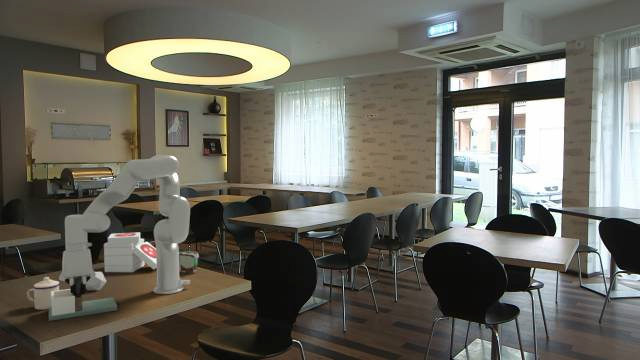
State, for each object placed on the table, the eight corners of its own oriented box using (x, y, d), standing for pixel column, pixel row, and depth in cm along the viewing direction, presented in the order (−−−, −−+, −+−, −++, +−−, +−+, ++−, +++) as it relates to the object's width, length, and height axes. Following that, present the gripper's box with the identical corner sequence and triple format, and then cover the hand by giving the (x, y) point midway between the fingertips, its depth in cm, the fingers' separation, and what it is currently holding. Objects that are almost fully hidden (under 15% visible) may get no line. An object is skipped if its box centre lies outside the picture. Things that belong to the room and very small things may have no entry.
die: (91, 294, 204) (105, 275, 206) (76, 284, 205) (90, 265, 208) (99, 296, 211) (113, 277, 214) (84, 286, 213) (98, 268, 215)
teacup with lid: (64, 302, 191) (63, 274, 190) (53, 309, 182) (52, 280, 181) (34, 303, 190) (33, 275, 190) (21, 310, 181) (20, 281, 180)
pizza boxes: (155, 273, 239) (155, 238, 238) (98, 272, 240) (97, 238, 240) (169, 264, 258) (168, 232, 257) (116, 264, 259) (115, 232, 259)
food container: (204, 271, 241) (204, 252, 241) (195, 274, 236) (195, 254, 236) (187, 268, 248) (187, 250, 247) (178, 271, 243) (178, 252, 242)
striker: (81, 302, 185) (80, 275, 184) (83, 309, 176) (82, 280, 176) (74, 303, 184) (73, 275, 183) (75, 310, 175) (74, 281, 175)
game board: (113, 300, 192) (112, 283, 192) (117, 310, 181) (116, 291, 180) (48, 310, 181) (48, 291, 181) (48, 320, 169) (48, 300, 169)
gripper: (99, 243, 186) (100, 288, 187) (52, 247, 178) (54, 295, 179) (100, 246, 180) (102, 293, 181) (52, 250, 172) (54, 300, 173)
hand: (78, 293), depth 180 cm, fingers closed on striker, 2 cm apart
